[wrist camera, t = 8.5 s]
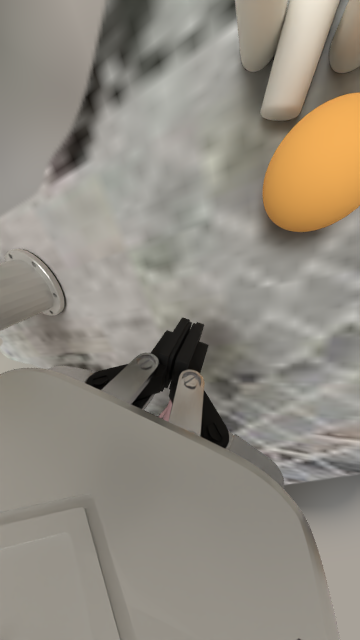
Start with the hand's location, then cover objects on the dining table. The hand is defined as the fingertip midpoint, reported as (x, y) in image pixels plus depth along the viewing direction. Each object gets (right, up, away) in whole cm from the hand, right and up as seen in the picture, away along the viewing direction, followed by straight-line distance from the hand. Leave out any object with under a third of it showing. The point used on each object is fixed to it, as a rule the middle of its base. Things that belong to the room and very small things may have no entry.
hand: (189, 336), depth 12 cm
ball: (+8, +10, -2) cm, 13 cm away
